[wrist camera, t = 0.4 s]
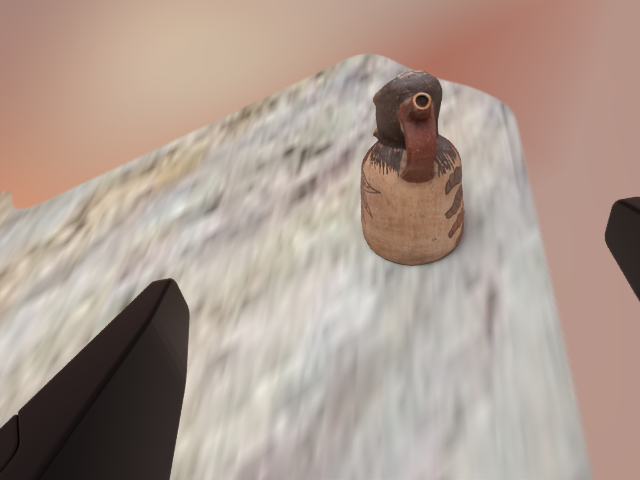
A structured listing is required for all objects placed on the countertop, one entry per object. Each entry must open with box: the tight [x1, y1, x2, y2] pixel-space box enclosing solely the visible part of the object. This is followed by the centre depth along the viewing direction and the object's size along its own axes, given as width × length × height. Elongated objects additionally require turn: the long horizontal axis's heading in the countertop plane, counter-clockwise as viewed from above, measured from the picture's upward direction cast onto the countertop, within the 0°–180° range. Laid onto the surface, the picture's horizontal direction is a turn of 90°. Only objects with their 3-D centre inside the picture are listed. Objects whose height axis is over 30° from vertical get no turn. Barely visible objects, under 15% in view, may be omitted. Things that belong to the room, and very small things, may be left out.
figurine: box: [361, 71, 464, 265], centre depth 28 cm, size 7×7×12 cm
